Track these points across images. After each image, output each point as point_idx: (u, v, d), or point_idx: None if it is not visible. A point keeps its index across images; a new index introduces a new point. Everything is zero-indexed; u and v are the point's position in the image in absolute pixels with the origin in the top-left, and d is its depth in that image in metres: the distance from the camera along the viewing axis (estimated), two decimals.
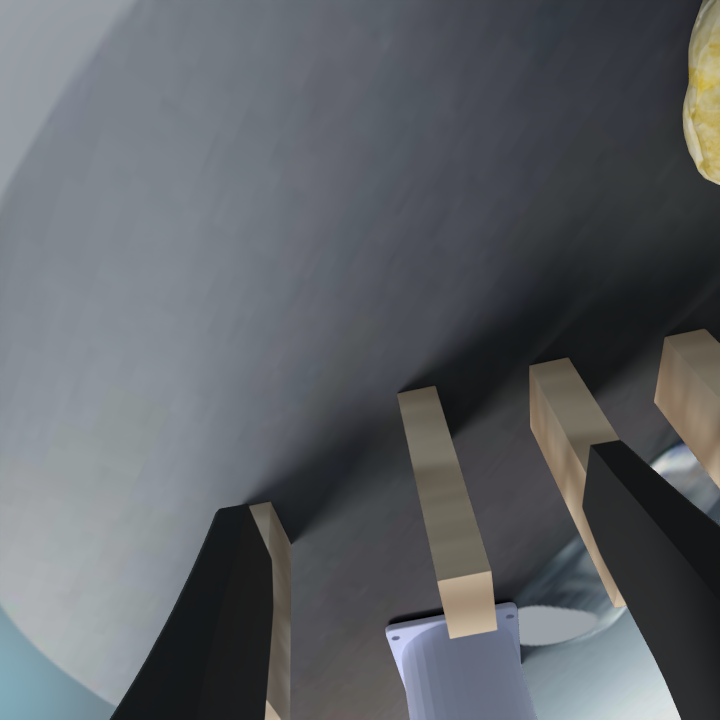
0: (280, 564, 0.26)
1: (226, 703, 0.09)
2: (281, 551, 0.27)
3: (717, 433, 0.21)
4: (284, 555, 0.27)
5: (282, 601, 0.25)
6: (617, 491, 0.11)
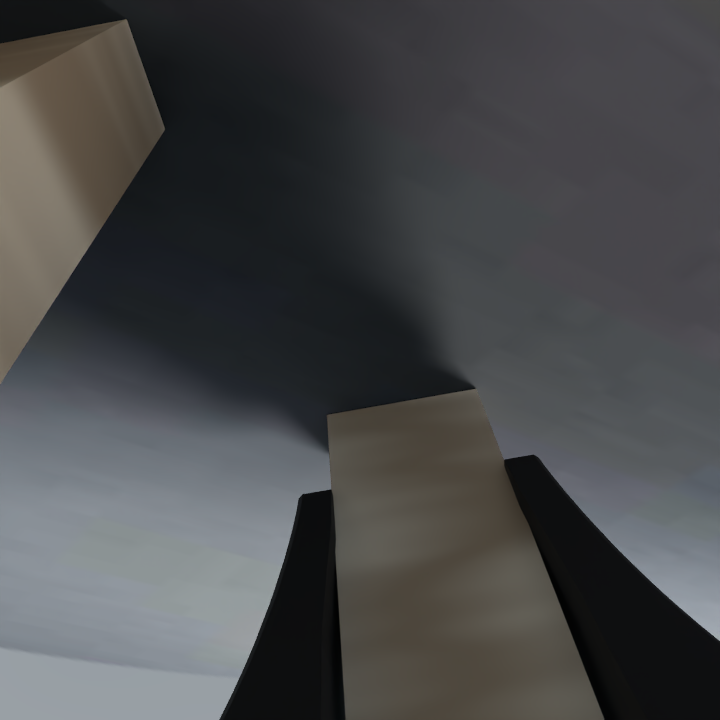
0: (417, 472, 0.12)
1: (334, 685, 0.09)
2: (417, 444, 0.12)
3: None
4: (439, 437, 0.13)
5: (455, 533, 0.11)
6: (523, 507, 0.11)
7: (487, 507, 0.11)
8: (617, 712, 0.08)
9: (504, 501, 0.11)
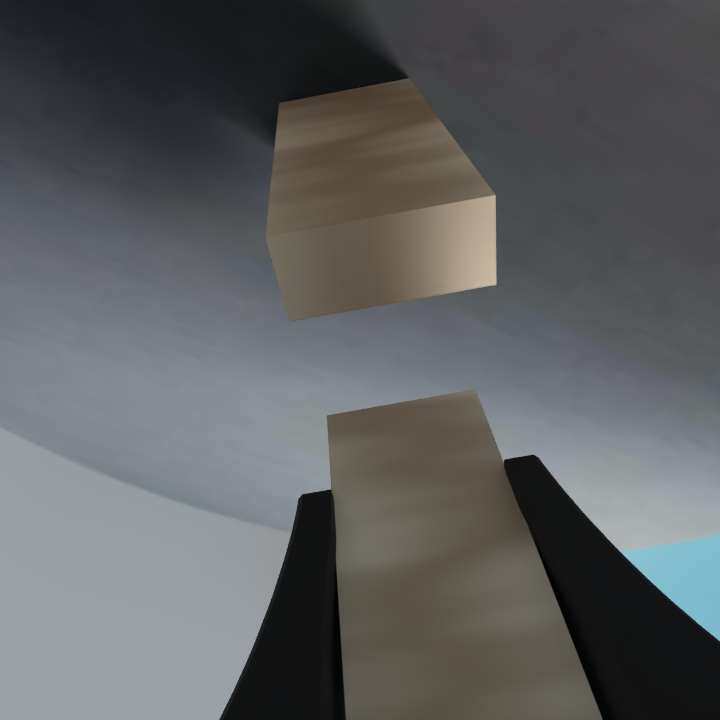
0: (416, 473, 0.12)
1: (334, 685, 0.09)
2: (416, 445, 0.13)
3: None
4: (438, 437, 0.13)
5: (454, 532, 0.11)
6: (523, 507, 0.11)
7: (486, 507, 0.11)
8: (617, 712, 0.08)
9: (503, 501, 0.11)
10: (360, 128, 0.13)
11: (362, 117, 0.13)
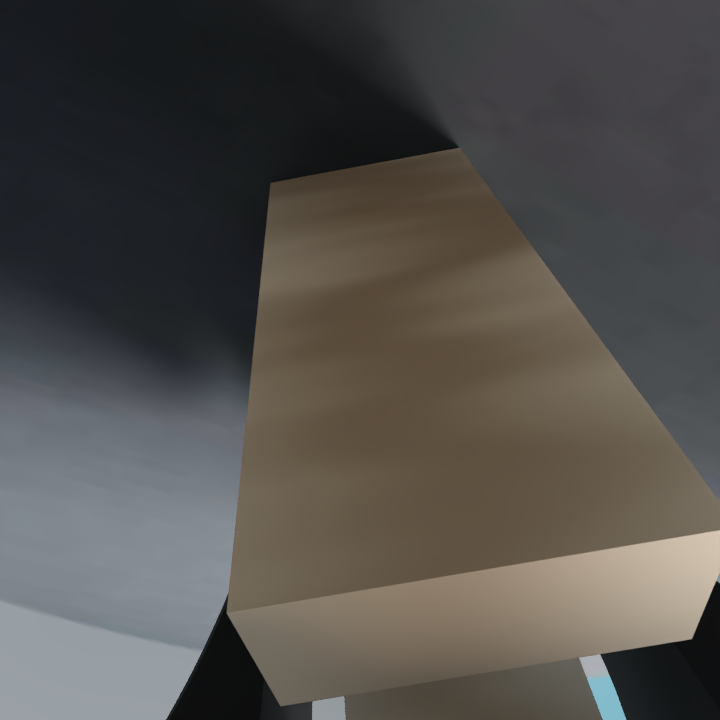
0: None
1: None
2: None
3: None
4: None
5: None
6: None
7: None
8: (678, 702, 0.08)
9: None
10: (399, 255, 0.08)
11: (400, 228, 0.08)
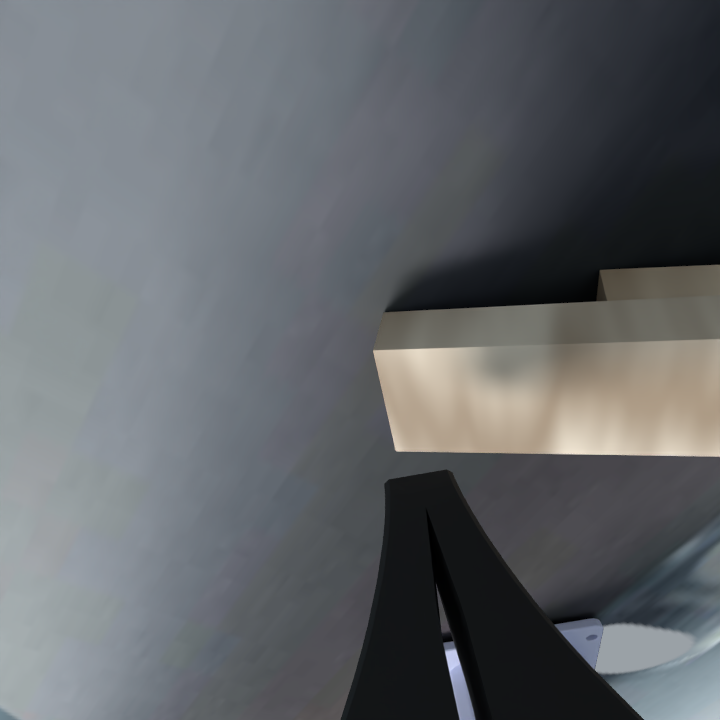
0: None
1: None
2: None
3: None
4: None
5: None
6: (429, 523, 0.11)
7: None
8: None
9: None
10: None
11: None
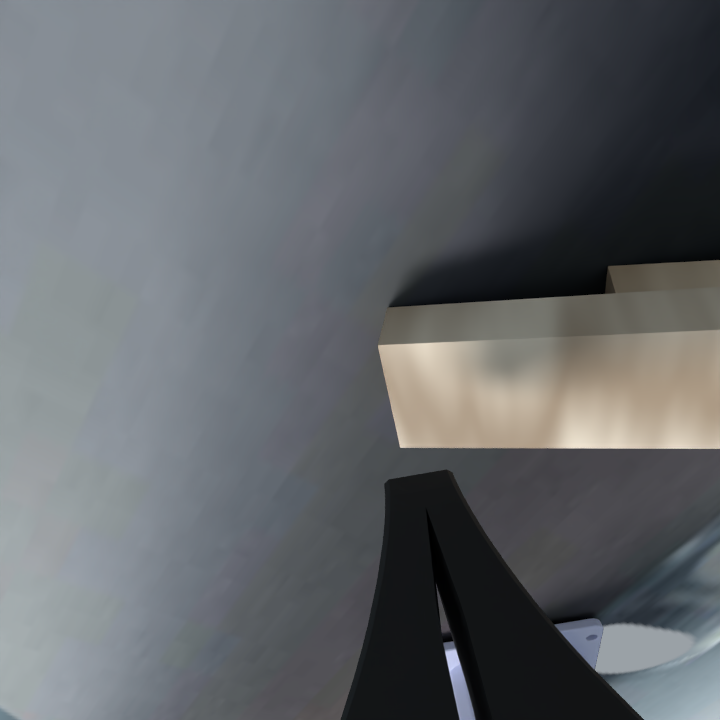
0: None
1: None
2: None
3: None
4: None
5: None
6: (429, 523, 0.11)
7: None
8: None
9: None
10: None
11: None
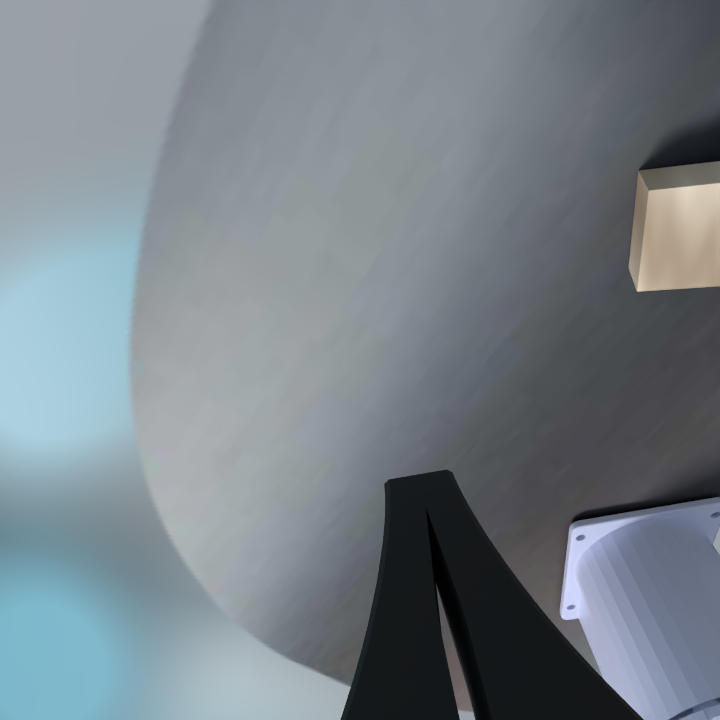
0: None
1: None
2: None
3: None
4: None
5: None
6: (429, 523, 0.11)
7: None
8: None
9: None
10: None
11: None
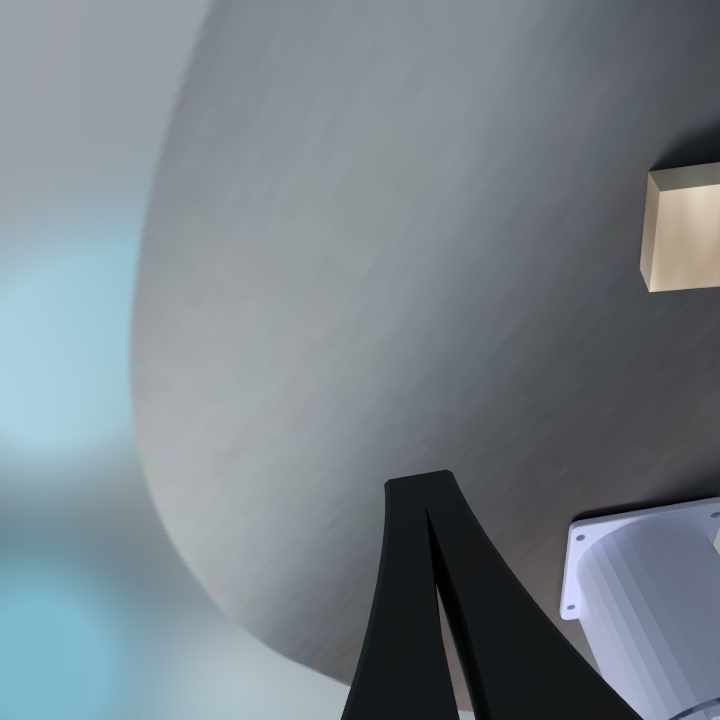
0: None
1: None
2: None
3: None
4: None
5: None
6: (429, 523, 0.11)
7: None
8: None
9: None
10: None
11: None
